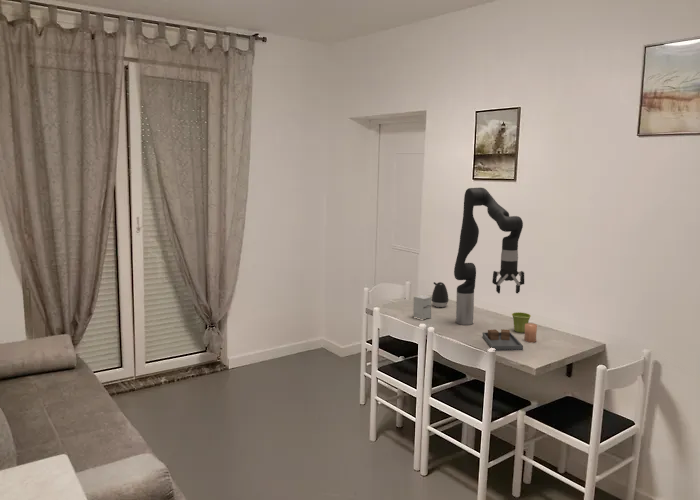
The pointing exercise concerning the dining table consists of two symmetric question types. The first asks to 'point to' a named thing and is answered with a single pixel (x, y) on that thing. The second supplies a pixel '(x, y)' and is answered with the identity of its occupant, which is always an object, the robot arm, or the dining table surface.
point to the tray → (503, 342)
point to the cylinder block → (530, 332)
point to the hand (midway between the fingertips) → (507, 293)
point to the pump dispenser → (440, 295)
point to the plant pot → (520, 321)
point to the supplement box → (422, 306)
